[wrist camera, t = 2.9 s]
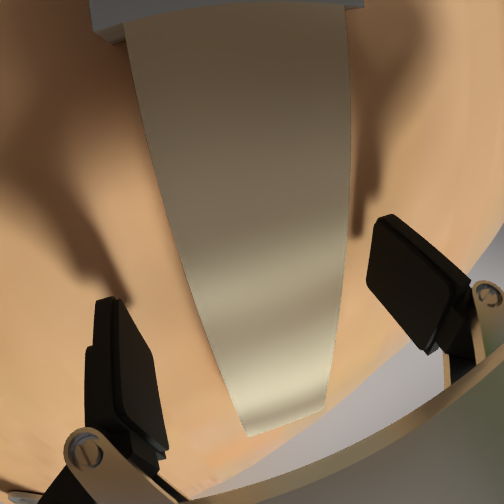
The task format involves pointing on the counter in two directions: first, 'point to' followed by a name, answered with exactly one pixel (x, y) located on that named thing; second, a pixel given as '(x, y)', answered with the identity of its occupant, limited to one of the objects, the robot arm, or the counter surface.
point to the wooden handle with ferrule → (251, 179)
